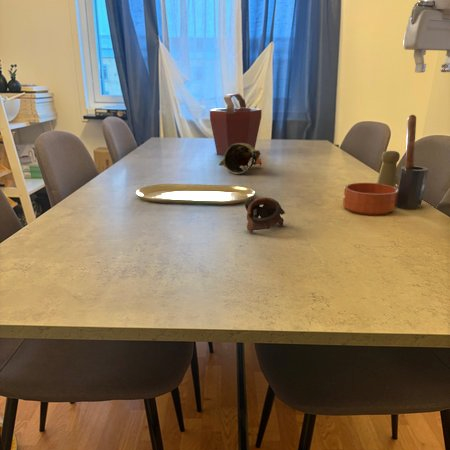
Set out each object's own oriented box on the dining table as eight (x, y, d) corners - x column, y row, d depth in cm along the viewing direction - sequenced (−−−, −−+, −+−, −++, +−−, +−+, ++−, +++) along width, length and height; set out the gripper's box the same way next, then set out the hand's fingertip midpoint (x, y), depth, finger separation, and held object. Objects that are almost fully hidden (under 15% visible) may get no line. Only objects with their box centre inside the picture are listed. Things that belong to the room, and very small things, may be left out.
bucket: (240, 159, 184) (240, 94, 172) (198, 155, 195) (196, 94, 183) (267, 151, 202) (269, 92, 191) (227, 148, 213) (227, 92, 201)
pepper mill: (377, 189, 135) (382, 152, 130) (374, 184, 140) (379, 149, 135) (397, 189, 134) (403, 152, 129) (393, 185, 139) (400, 149, 134)
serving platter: (147, 188, 138) (147, 183, 137) (256, 191, 133) (257, 185, 133) (127, 203, 121) (127, 197, 121) (251, 207, 117) (251, 201, 116)
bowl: (385, 202, 121) (388, 182, 118) (402, 216, 109) (406, 194, 106) (337, 202, 121) (339, 182, 118) (349, 216, 109) (352, 194, 106)
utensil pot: (414, 202, 121) (421, 165, 116) (424, 209, 115) (433, 170, 110) (390, 202, 121) (396, 165, 116) (399, 209, 115) (406, 170, 110)
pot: (275, 143, 162) (255, 132, 146) (279, 173, 163) (259, 165, 147) (234, 156, 171) (212, 146, 155) (238, 184, 171) (216, 177, 155)
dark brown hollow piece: (295, 230, 101) (292, 204, 94) (266, 254, 99) (261, 230, 92) (259, 207, 107) (255, 181, 101) (231, 229, 105) (225, 205, 98)
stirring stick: (410, 200, 118) (414, 114, 109) (413, 202, 116) (417, 114, 107) (402, 201, 118) (406, 115, 109) (405, 203, 116) (409, 115, 107)
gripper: (427, -3, 89) (414, 72, 96) (486, 3, 98) (471, 71, 105) (402, 1, 94) (391, 73, 101) (460, 7, 103) (447, 72, 110)
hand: (432, 72), depth 103 cm, fingers open, 8 cm apart
